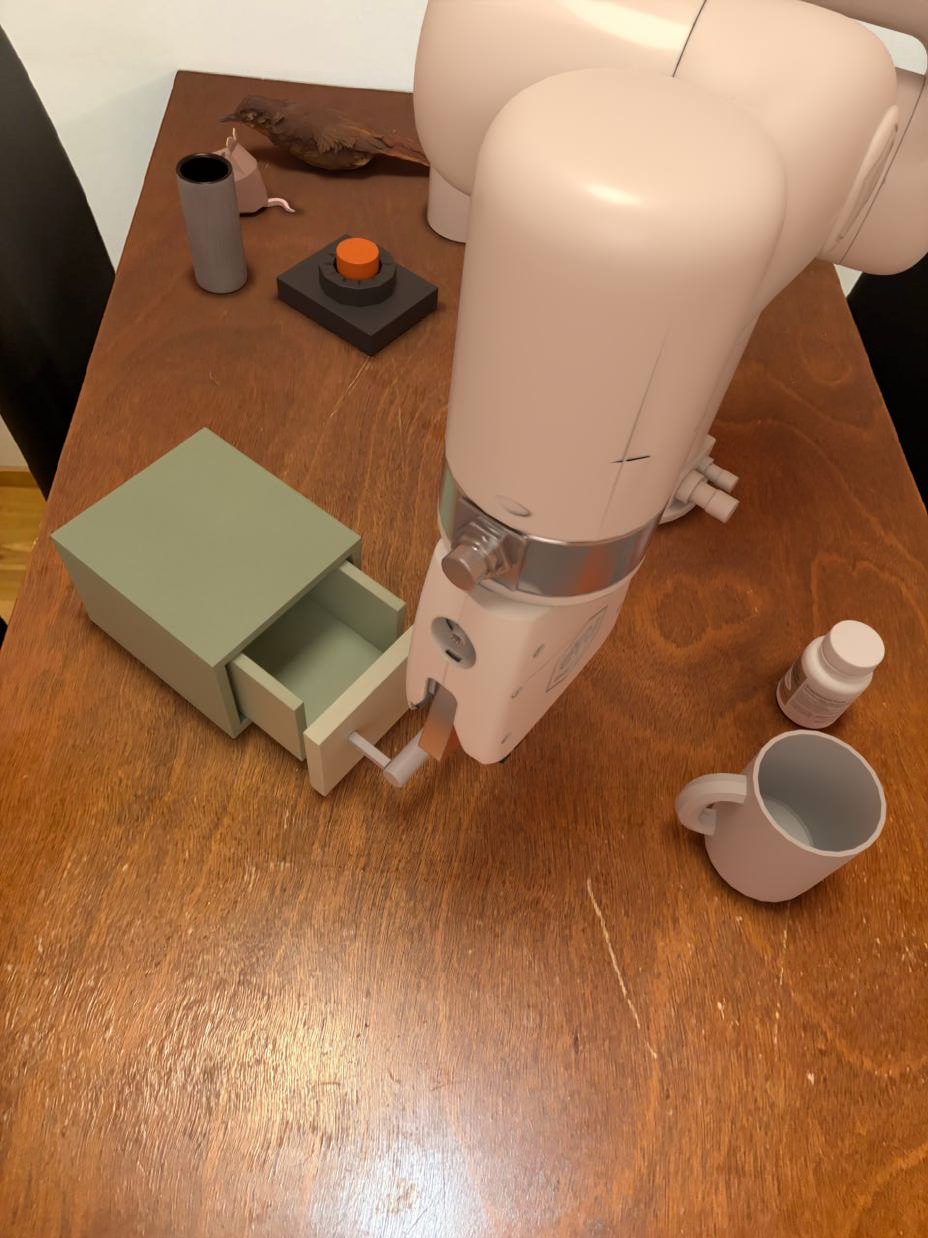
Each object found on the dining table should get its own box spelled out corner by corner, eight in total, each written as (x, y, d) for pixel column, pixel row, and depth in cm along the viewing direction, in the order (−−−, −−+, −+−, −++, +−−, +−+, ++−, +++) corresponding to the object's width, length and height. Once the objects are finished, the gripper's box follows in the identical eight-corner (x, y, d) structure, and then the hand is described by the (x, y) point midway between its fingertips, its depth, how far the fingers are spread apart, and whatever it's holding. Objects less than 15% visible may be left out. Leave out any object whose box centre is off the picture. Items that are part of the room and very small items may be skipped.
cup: (818, 916, 53) (892, 870, 45) (653, 881, 53) (699, 829, 46) (814, 803, 57) (881, 744, 49) (660, 771, 57) (704, 707, 50)
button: (387, 268, 77) (387, 250, 76) (359, 286, 75) (359, 268, 74) (356, 250, 78) (355, 232, 77) (328, 268, 76) (327, 249, 75)
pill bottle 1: (518, 216, 89) (535, 104, 80) (478, 253, 85) (491, 139, 76) (454, 187, 91) (463, 74, 82) (411, 222, 87) (416, 107, 78)
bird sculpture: (459, 211, 93) (471, 165, 89) (212, 157, 87) (213, 106, 83) (457, 177, 97) (468, 131, 93) (220, 123, 91) (221, 72, 87)
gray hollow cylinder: (186, 284, 79) (163, 172, 71) (212, 256, 82) (194, 145, 73) (231, 299, 79) (214, 189, 70) (256, 271, 81) (243, 161, 72)
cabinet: (363, 618, 62) (361, 536, 54) (234, 739, 56) (212, 667, 48) (224, 515, 65) (204, 426, 58) (90, 619, 60) (49, 534, 52)
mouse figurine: (287, 227, 85) (281, 158, 79) (206, 212, 85) (194, 142, 80) (302, 196, 88) (297, 128, 82) (223, 182, 88) (213, 113, 82)
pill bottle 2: (789, 662, 63) (837, 601, 56) (847, 696, 62) (903, 637, 55) (764, 706, 61) (811, 647, 54) (823, 742, 59) (878, 686, 53)
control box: (437, 307, 80) (440, 269, 77) (371, 356, 76) (371, 317, 73) (346, 254, 83) (345, 214, 80) (278, 298, 79) (274, 258, 76)
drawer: (489, 714, 57) (503, 657, 51) (377, 841, 52) (378, 793, 46) (300, 574, 62) (292, 506, 56) (180, 677, 57) (157, 615, 51)
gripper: (509, 703, 25) (453, 897, 40) (748, 432, 33) (625, 682, 48) (315, 562, 27) (331, 796, 43) (581, 338, 35) (514, 606, 50)
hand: (487, 735), depth 45 cm, fingers closed
